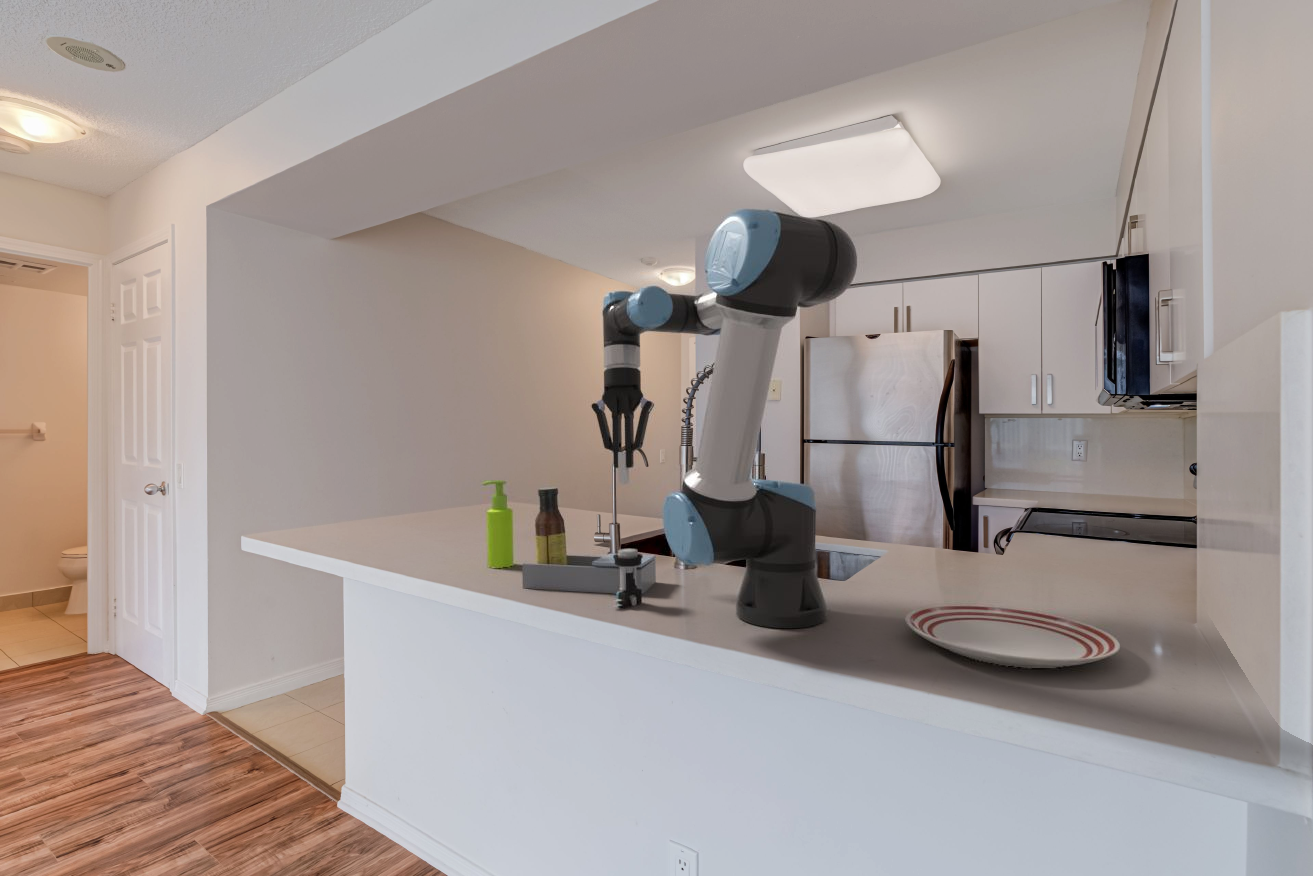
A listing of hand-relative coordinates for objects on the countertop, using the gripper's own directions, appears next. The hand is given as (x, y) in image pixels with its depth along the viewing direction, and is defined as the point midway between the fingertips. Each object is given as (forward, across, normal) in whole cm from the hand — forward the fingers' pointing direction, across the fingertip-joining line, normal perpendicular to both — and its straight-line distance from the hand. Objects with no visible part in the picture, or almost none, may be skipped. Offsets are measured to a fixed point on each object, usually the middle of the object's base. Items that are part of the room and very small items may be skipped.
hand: (623, 484), depth 134 cm
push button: (+22, -4, +12) cm, 25 cm away
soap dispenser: (+19, +35, -14) cm, 42 cm away
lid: (+16, 0, 0) cm, 16 cm away
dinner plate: (+25, -64, +22) cm, 72 cm away
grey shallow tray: (+21, +8, -1) cm, 22 cm away
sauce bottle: (+21, +16, -1) cm, 26 cm away
